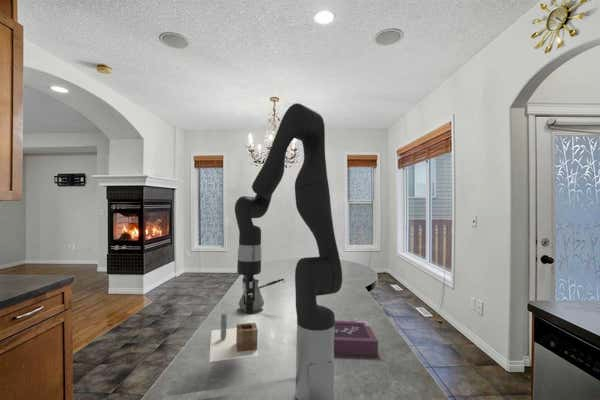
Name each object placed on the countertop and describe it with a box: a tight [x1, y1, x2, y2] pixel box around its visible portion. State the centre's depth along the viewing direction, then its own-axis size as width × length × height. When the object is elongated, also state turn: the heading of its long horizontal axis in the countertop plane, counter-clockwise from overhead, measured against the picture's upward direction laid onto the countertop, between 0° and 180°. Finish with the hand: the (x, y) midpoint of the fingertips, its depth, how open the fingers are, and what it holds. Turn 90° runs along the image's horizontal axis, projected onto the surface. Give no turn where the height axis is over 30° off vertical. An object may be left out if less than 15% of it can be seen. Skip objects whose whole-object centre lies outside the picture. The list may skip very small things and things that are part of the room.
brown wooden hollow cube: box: [236, 322, 258, 352], centre depth 90 cm, size 6×6×6 cm
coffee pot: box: [238, 278, 286, 313], centre depth 127 cm, size 21×12×15 cm, turn 75°
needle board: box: [208, 312, 260, 363], centre depth 93 cm, size 22×14×10 cm, turn 16°
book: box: [334, 320, 379, 356], centre depth 97 cm, size 25×16×5 cm, turn 88°
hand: (247, 309), depth 91 cm, fingers open, 8 cm apart
